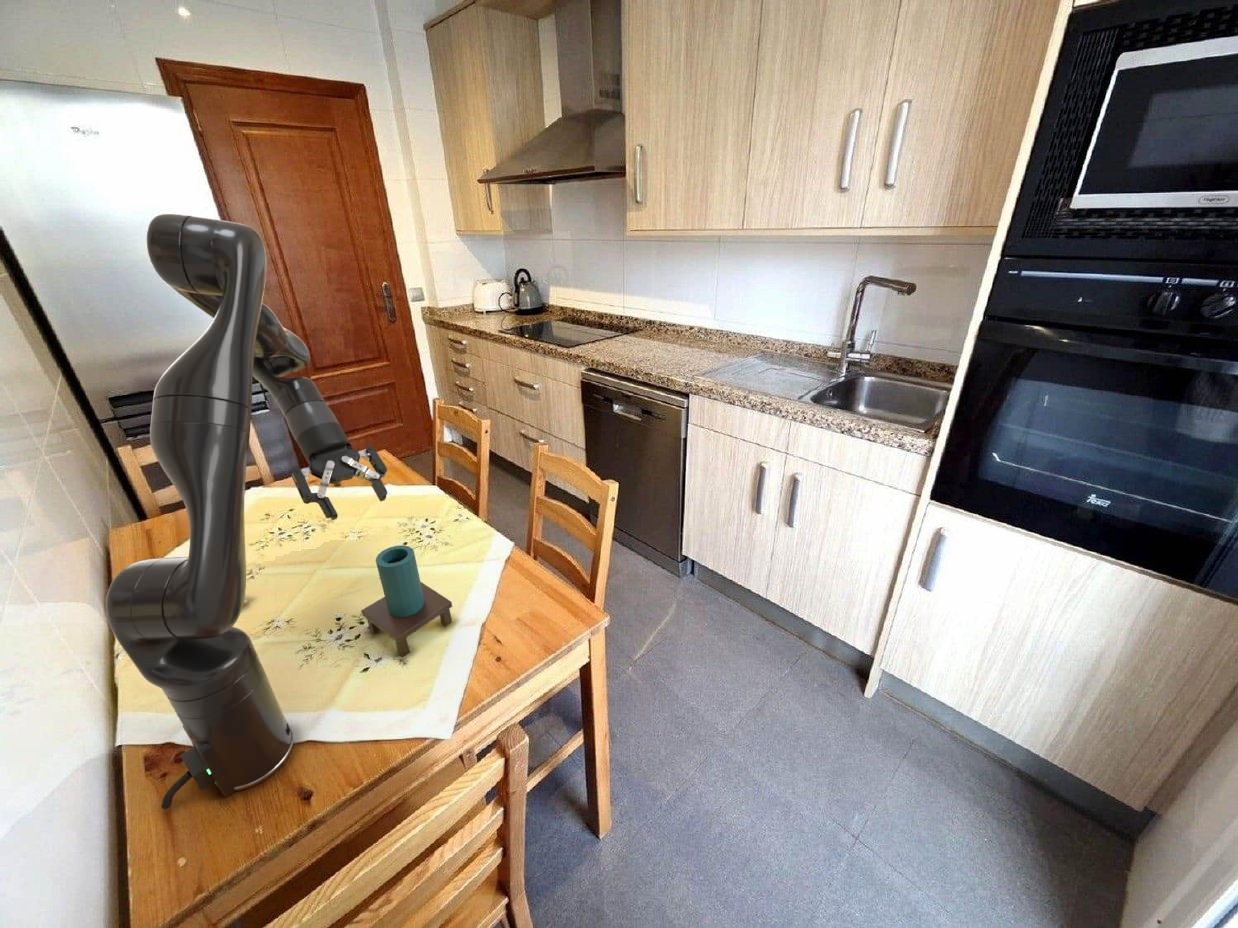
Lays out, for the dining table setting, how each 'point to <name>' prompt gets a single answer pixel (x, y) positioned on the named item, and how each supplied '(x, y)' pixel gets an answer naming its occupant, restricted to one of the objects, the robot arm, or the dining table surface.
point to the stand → (407, 618)
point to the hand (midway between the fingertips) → (360, 508)
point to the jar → (400, 580)
